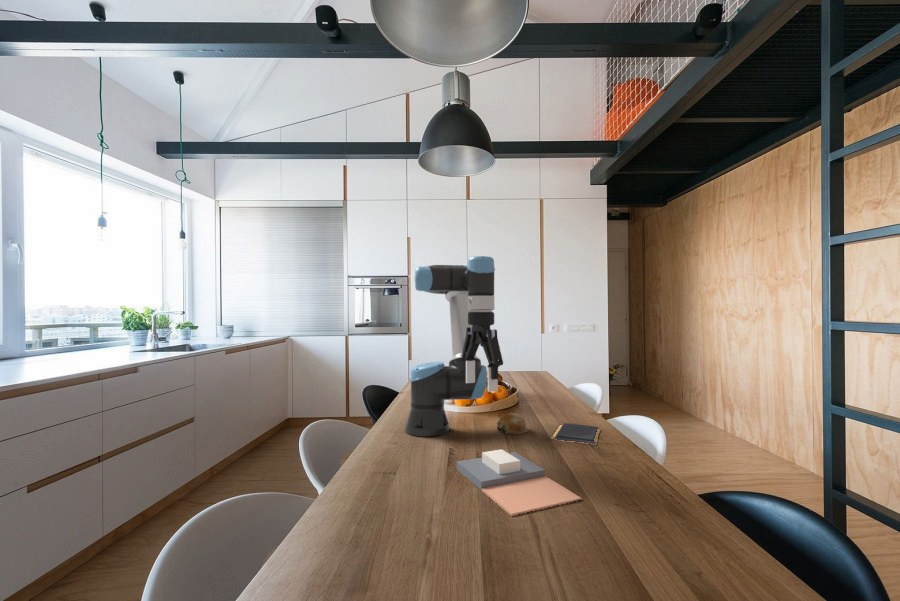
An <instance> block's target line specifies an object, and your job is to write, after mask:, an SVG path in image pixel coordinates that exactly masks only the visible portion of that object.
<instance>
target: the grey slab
mask: <svg viewBox="0 0 900 601" xmlns="http://www.w3.org/2000/svg"><path fill="white" fill-rule="evenodd" d="M508 453H509V454H510V455H512V456H513V457H515V458H517V459H518V460H520V471H516V472H511V473H505V474H498V473H497V472H495V471H494V470H492V469H491V468H490V467H488V466H487V465H485V464H484V463H483V462H482V457H477V458H471V459H464V460H457V461H456V471H458V472H459V473H461V475H463V476H464V477H465V478H466V479H467V480H468V481H470V482H471V483H472V484H473V485H474V486H476V488H478V489H479V490H480V491H482V488H487V487H492V486H498V485H503V484H508V483H513V482H518V481H524V480H529V479H534V478H539V477H544V476H546V469H544V468H543V467H542V466H541V467H540V465H538V464H536V463H534V462H532V461H531V460H529V459H527V458H525V457H524V456H522V455H521V454H520V453H517V452H514V451H513V452H508Z"/></svg>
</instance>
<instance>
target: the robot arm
mask: <svg viewBox="0 0 900 601" xmlns="http://www.w3.org/2000/svg"><path fill="white" fill-rule="evenodd" d="M414 270H415V271H414V286H415V290H416V291H418V292H424V293H425V292H426V293H429V294H435V295H444V296H445V297H444V298H445V300H447V301H448V302H449V316H450V318H449V319H450V333H451V350H452V358H451V359H450V360H449V361H448V366H447V365H445V362H444V361H431V362H425V363H421V364H417V365H414V366H413V367H412V368H411V370H410V379H409V382H410V408H409V412H408V415H407V418H406V419H407V420H406V422H405V433H407V434H408V435H412V436H415V437H437V436H441V435H445V434H447V433H448V432H449V431H450V423H449V420H448V417H447V414H446V413H447V412H446V410H445V400H446V401H447V400H448V401H449V400H451V401H454V400H470V401H471V400H476V399H477V400H478V399H482V397H483V396H484V395H485V392H486V387H487V392H489V393H490V392H491V393H492V392H498V390H499V367H500V366H503V365H504V360H503V357H502V352H501V347H500V343H499V339H498V330H497V329H493V328H492V329H491V326H494V325H495V312H493V311H495V270H496V268H495V259H494V258H493V257H491V256H487V255H486V256H485V255H476V256H471V257H469V258H468V260H467V265H466V264H461V265H458V264H455V265H454V264H432V265H424V266H417V267H416V268H415V269H414ZM479 346H480V347H482V349H483V352H484V354H485V357H486V359H487V363H488V365H487V366H486V365H484V364H482V361H481V359H480V358H479V357H477V352H478V349H479Z"/></svg>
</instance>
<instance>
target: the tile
mask: <svg viewBox="0 0 900 601" xmlns="http://www.w3.org/2000/svg"><path fill="white" fill-rule="evenodd" d="M509 453H510V452H507V451H505V450H504V449H501V448H500V449H495V450H490V451H484V452H481V458H482V462H483V463H484V464H485V465H487V466H488V467H490V468H491V469H492V470H494V471H495V472H497V473H498V474H505V473H511V472H516V471H520V460H518V459H517V458H515V457H513V456H512V455H510V454H509Z"/></svg>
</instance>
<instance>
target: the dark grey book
mask: <svg viewBox="0 0 900 601" xmlns="http://www.w3.org/2000/svg"><path fill="white" fill-rule="evenodd" d="M562 424H563V425H560V426H559V427H558V426H557V427H558V429H557V428H556V429H557V430H556V429H555V430H556V432H555V431H554V432H555V433H554V432H553V433H554V435H553V434H552V435H553V436H552V435H551V436H552V437H554V438H555V439H557V440H564V441H575V442H584V443H592V444H595V443H596V442H594V438H595V435H596V432H597V429H598V428H599V427H598V426H594V425H585V424H575V423H566V422H565V423H562ZM554 438H553V439H554Z"/></svg>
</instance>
